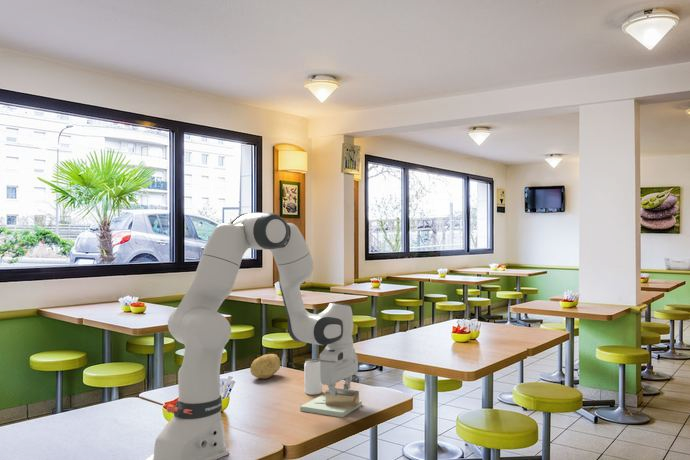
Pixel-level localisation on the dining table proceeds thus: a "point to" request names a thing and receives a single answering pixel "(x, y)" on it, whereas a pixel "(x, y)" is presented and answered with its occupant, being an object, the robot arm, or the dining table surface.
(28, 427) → the dining table surface
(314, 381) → the can
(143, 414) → the dining table surface
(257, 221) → the robot arm
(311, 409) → the board
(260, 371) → the potato
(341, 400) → the block
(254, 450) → the dining table surface
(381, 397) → the dining table surface
